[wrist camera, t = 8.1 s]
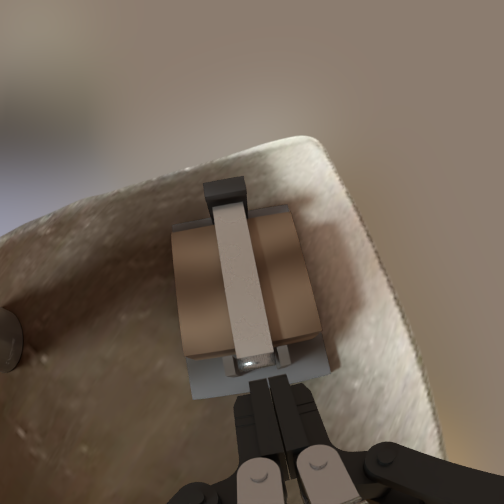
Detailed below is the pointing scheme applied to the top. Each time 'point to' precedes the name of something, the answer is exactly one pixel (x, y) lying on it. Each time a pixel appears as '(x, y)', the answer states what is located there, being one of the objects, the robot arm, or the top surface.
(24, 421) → the top surface
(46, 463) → the top surface
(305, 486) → the robot arm
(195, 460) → the top surface
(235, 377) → the latch block
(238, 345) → the strap
